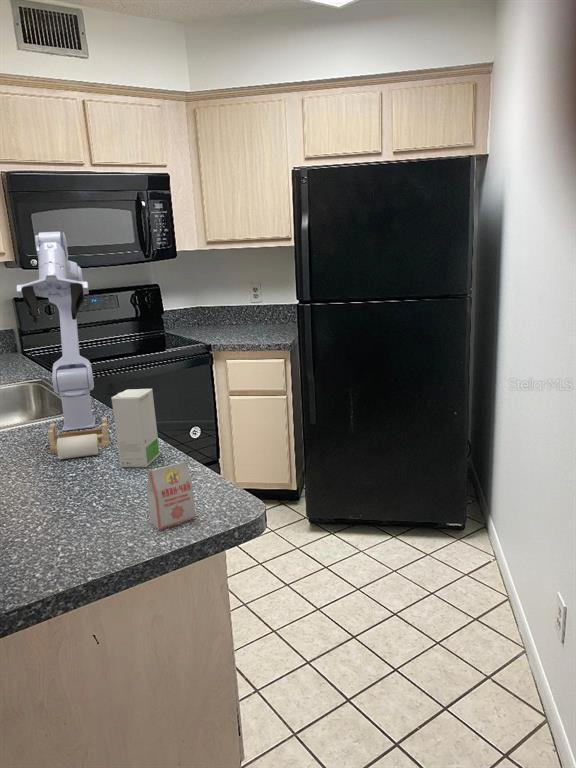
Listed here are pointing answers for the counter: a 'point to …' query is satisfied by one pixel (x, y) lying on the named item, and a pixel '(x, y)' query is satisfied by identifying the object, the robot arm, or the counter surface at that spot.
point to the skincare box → (135, 427)
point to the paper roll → (77, 446)
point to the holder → (101, 436)
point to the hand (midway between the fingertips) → (54, 317)
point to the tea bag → (170, 495)
